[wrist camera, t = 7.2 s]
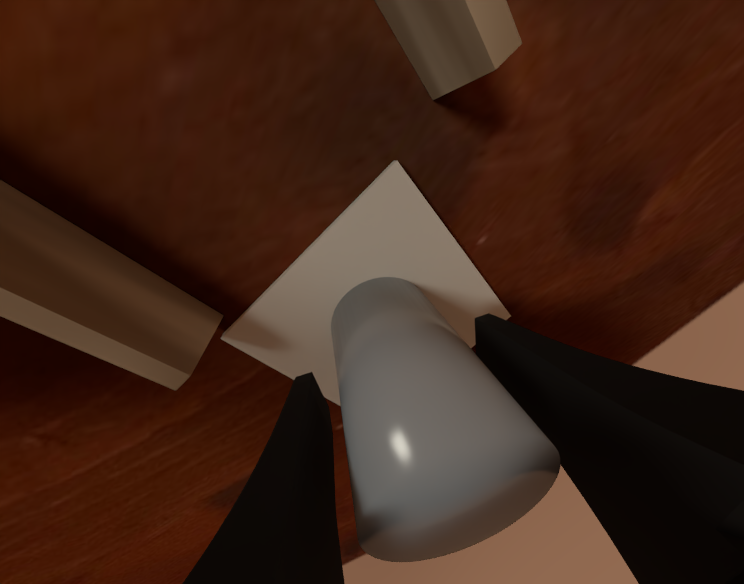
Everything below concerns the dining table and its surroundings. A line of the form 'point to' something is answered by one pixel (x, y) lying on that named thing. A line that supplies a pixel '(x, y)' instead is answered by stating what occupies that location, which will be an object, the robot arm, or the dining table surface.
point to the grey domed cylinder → (428, 429)
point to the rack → (154, 294)
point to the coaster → (362, 280)
